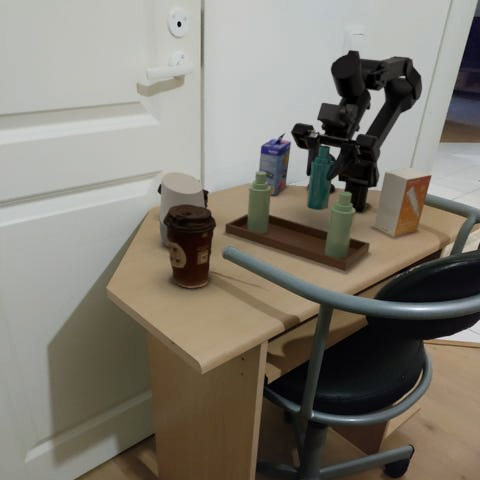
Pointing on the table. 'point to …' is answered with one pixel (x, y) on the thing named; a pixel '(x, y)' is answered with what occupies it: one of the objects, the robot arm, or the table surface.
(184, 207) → the coffee cup
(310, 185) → the teal bottle
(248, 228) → the sage bottle
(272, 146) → the ink cartridge box
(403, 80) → the robot arm
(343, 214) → the sage bottle
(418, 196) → the small box
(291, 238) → the tray
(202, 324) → the table surface
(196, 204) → the smart speaker
